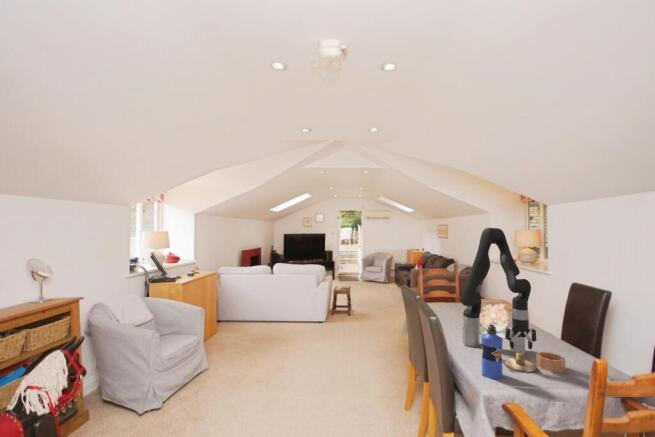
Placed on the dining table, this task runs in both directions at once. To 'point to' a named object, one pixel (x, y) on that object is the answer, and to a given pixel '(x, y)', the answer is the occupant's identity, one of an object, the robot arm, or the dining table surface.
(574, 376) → the dining table surface
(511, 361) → the lid
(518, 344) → the supplement box
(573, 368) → the dining table surface
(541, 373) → the mat
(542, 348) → the dining table surface
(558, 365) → the bowl
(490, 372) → the water bottle
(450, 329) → the dining table surface
